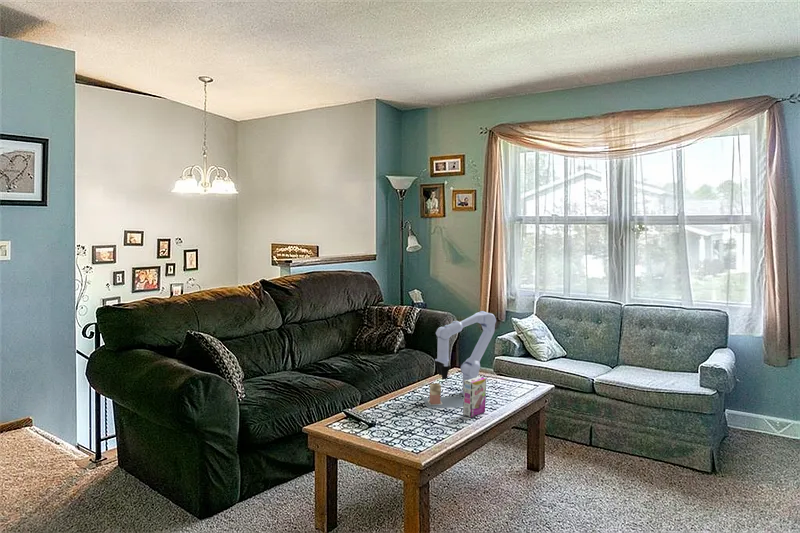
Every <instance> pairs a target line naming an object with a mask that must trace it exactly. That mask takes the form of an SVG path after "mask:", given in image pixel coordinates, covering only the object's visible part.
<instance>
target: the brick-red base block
mask: <svg viewBox="0 0 800 533" xmlns="http://www.w3.org/2000/svg"><path fill="white" fill-rule="evenodd" d="M440 397H441V395H431V393H430V392H429V398H430V403H431V404H440Z"/></svg>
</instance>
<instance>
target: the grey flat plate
mask: <svg viewBox="0 0 800 533" xmlns="http://www.w3.org/2000/svg"><path fill="white" fill-rule="evenodd" d="M421 398H422V402H424V404H425V406H426V407H427V408H428V409H440V408H442V409H443V408H444V409H445V408H446V409H447V408H462V407H463V403H464V398H462V397H461V396H460V395H459V396H440V404H431V403H430V397H421Z"/></svg>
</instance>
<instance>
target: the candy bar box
mask: <svg viewBox="0 0 800 533" xmlns="http://www.w3.org/2000/svg"><path fill="white" fill-rule="evenodd" d="M486 389H487V378H485V377H481V376H477V377H476V378H472V379H469V380H465V381H464V396H463V400H464V403H463V408H462V409H463V410H462V412H463V413H462V415H463V416H466V417H468V418H473V417H476V416H478V415H480V414H483V413H486V397H487V390H486Z"/></svg>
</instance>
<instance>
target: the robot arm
mask: <svg viewBox="0 0 800 533" xmlns="http://www.w3.org/2000/svg"><path fill="white" fill-rule="evenodd" d="M476 323H478V324H480V325H481V329H482V332H481V335H480V336H479V338H478V341H477V343H476V344H475V346H474V348H473V350H472V353H471V355H469V356H470V357H468V358H466V360H465V361H464V362H463V363H462V364H461V365H460V372H461V374H462V390H460V391H459V392H460V393H461V395H462V396H463V397H464V381H465V380H469V379H472V378H476V377H479V373H480V368H481V363H480V362H481V360H482V359H483V358H482V357H483V356H484V354H485V352H486V350H487V348H488V346H489V343H490V342H491V341H492V338H493V336H494V334H495V332H496V329H495V328H496V323H497V318H496V316H495V314H493V313H492V312H487V311H484V310H480V311H479V312H475V313H474V314H473V315H470V316H468V317H467V318H464V319H463V320H461V321H459V320H453V321H452V322H451V323H449V324H445V325H444V326H440V327H438V328H437V329H436V331H435V335H436V337H437V352H436V353H437V357H436V358H435V359H434V362H435V364H436V368H437V372H438V375H439V376H441V379H442V380H447V378H448V375H449V371H450V369H451V367H452V366H451V365H449V361H450V359H449V357H450V356H449V353H450V351H449V350H450V349H449V348H450V347H449V346H450V342H449V341H450V338H451V336H453V335H456V334H458V333H460V332H462V331H463V329H464V328H465V327H468V326H471V325H473V324H476Z"/></svg>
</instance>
